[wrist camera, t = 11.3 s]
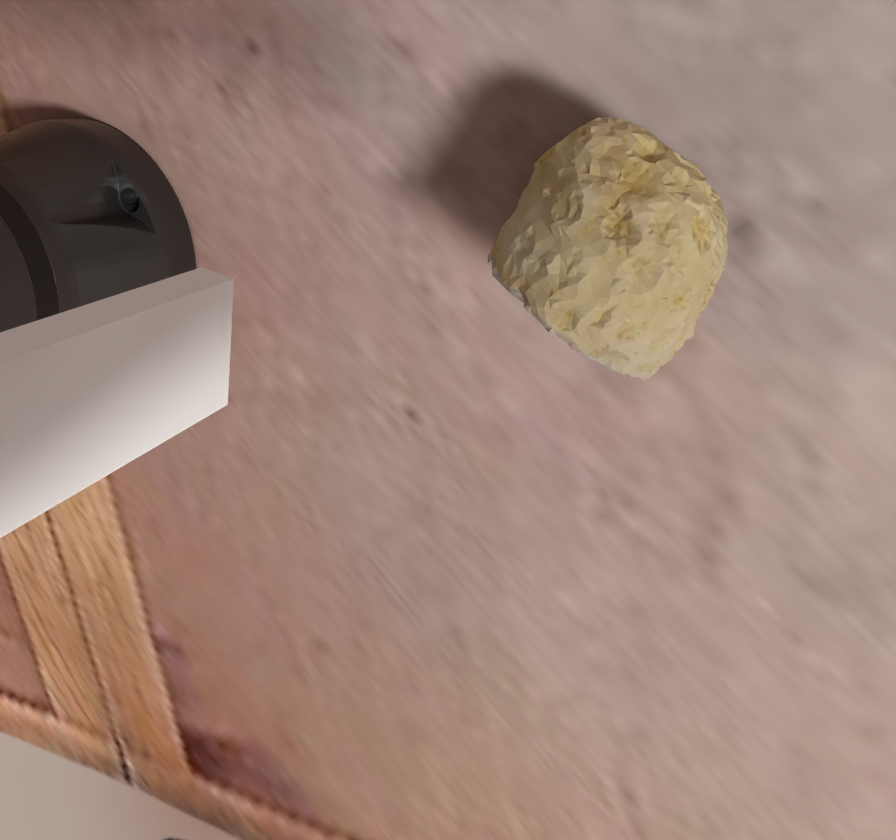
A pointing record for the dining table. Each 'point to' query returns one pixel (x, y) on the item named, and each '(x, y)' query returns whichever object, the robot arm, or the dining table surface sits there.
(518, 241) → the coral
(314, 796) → the dining table surface
